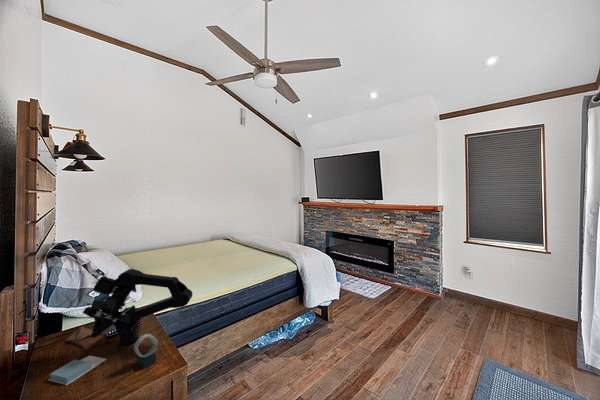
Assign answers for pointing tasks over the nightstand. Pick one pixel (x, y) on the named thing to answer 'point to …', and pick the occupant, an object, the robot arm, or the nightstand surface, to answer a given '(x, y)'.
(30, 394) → the nightstand surface
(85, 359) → the felt mat
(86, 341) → the sunglasses case
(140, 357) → the watch
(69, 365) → the teal tile
